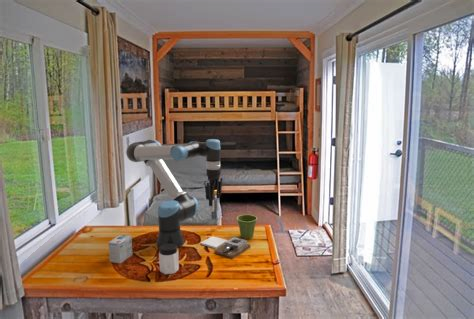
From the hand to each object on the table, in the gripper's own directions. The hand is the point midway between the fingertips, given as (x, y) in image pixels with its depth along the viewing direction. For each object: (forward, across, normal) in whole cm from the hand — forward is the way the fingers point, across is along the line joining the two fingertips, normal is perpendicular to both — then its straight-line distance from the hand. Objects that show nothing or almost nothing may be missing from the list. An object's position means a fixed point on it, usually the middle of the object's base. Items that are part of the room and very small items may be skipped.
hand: (213, 210), depth 207 cm
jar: (+19, -37, -2) cm, 42 cm away
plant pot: (+19, +18, -10) cm, 28 cm away
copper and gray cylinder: (+4, 0, 0) cm, 4 cm away
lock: (+19, -2, -14) cm, 24 cm away
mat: (+19, 0, 0) cm, 19 cm away
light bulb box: (+20, -41, +28) cm, 54 cm away
